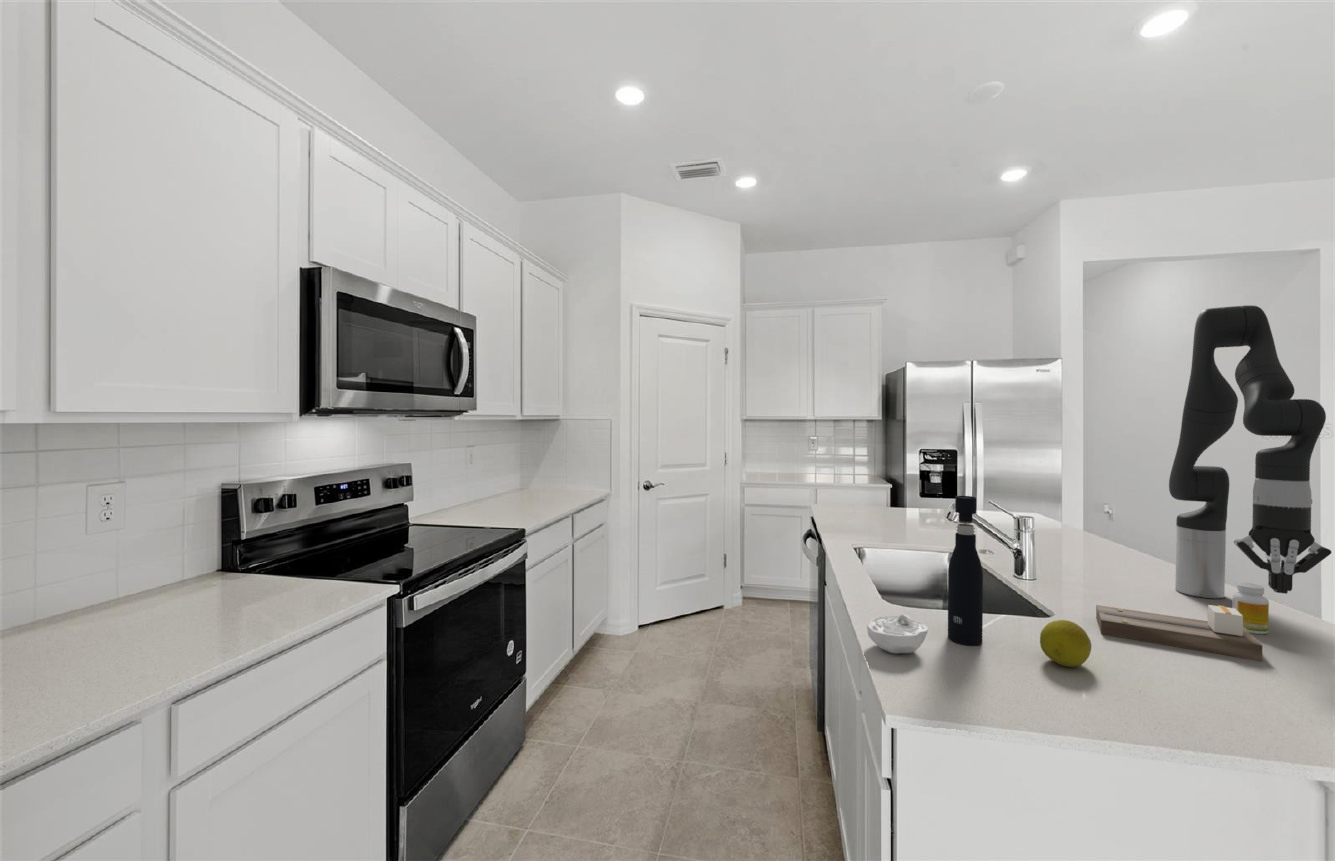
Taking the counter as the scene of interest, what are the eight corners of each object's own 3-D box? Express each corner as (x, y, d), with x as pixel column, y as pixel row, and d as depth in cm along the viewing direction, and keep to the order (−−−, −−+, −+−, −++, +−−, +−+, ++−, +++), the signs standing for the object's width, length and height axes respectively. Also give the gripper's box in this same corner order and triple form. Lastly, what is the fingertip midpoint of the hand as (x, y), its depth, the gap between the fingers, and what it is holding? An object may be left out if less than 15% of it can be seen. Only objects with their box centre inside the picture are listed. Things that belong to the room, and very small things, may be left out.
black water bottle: (978, 635, 116) (979, 495, 116) (985, 647, 110) (986, 499, 110) (945, 631, 119) (946, 494, 118) (950, 643, 112) (951, 498, 112)
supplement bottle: (1275, 635, 115) (1276, 590, 115) (1245, 633, 116) (1246, 588, 116) (1254, 626, 121) (1255, 582, 120) (1225, 624, 122) (1226, 581, 121)
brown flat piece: (1096, 617, 126) (1096, 604, 126) (1243, 641, 113) (1243, 625, 113) (1101, 633, 117) (1101, 619, 117) (1262, 661, 104) (1262, 644, 103)
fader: (1207, 623, 113) (1207, 603, 113) (1234, 627, 111) (1235, 607, 111) (1214, 631, 109) (1214, 611, 109) (1242, 636, 107) (1242, 614, 107)
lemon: (1078, 679, 97) (1079, 634, 97) (1029, 663, 103) (1030, 621, 103) (1101, 663, 103) (1101, 621, 103) (1053, 649, 110) (1054, 609, 109)
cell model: (855, 643, 113) (855, 610, 113) (905, 637, 116) (905, 605, 116) (886, 664, 103) (886, 629, 103) (940, 657, 106) (940, 622, 106)
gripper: (1324, 503, 105) (1322, 592, 105) (1227, 497, 112) (1226, 581, 113) (1342, 508, 99) (1340, 603, 99) (1239, 502, 106) (1237, 591, 106)
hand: (1279, 591), depth 106 cm, fingers closed
